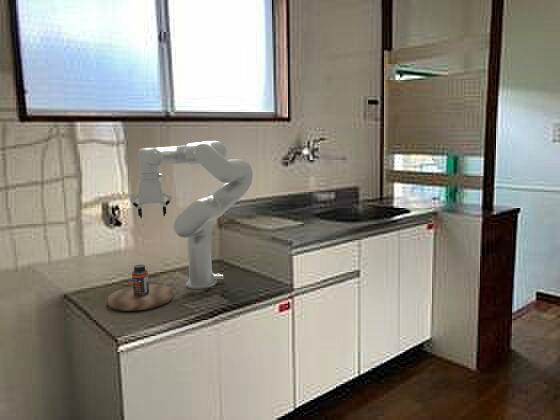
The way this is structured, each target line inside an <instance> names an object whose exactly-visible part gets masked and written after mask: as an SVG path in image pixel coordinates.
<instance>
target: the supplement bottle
mask: <svg viewBox="0 0 560 420" xmlns="http://www.w3.org/2000/svg"><path fill="white" fill-rule="evenodd" d="M148 271H149V270H147V269H146V265H145V264H136V265H134V266H133V271H132V272H131V281H132V286H133V293H134V295H135V296H144V295H147V294H148V293H149V284H150V282H149V273H148Z"/></svg>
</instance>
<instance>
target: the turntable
mask: <svg viewBox="0 0 560 420" xmlns="http://www.w3.org/2000/svg"><path fill="white" fill-rule="evenodd" d="M173 297H174V291H173V288H172V287H170V286H168V285H163V284H158V283H157V284H156V283H154V284H150V283H149V293H148V294H147V295H144V296H135V295H134V293H133V285H132V286H127V287H124V288H122V289H121V288H120V289H118V290H116V291H115V292H112V293H111V294H109V296H108V297H107V305H108V307H109V308H110V309H112V310H117V311H123V312H126V311H127V312H135V311H143V310H149V309H154V308H157V307H161V306H163V305H165V304H167V303H169V302H170V301H171V300H172V299H173Z"/></svg>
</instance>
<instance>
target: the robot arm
mask: <svg viewBox="0 0 560 420" xmlns="http://www.w3.org/2000/svg"><path fill="white" fill-rule="evenodd" d="M227 153H228V151H227V147H226V145H225V143H223V142H221V141H218V140H205V141H204V140H203V141H201V142H199V141H198V142H189V143H187V144H186V145H177V146H176V145H175V146H174V145H173V146H160V147H143V148H140V149H138V163H139V173H140V174H139V176H140V180H139V181H138V194H136V195H134V196H133V197H131V198H130V199H129V200H130V202H131V203H132V205H133V206H134V207H135V208H136V209H137V213H138V217H139V219H142V218H143V212H142V211H143V210H142V206H143V205H150V204H151V205H152V204H161V205H162V215H163V217H166V215H167V206H168V205H169V204H170V202H171V201H172V198H173V197H172V195H171V194H168V193H165V192H164V188H163V184H162V180H161V179H160V178H162V177H163V174H162V173H160V172H159V166H169V165H175V164H176V165H178V164H189V165H196V164H197V165H198V164H200V165H201V166H202V167H203V168H204V169H205V170H206V171H207V172H208V173H210V174H211V175H212V176H213V177H214V178H215V179H216V180H218V181H219V182H221V183H223V184H222V185H221V186H220V187H218V189H217V190H216V191H214V192H213V193H212V194H211V195H208V196H205V197H201V198H198V199H196V200H194V201H193V202H192V203H190V204H189V205H188V206H187V207H186V208H185V209H184V210H183V211H182V212H181V213H179V214H178V215H177V217H175V219H174V223H173V230H174V233H175V234H176V235H177V236H179V237H180V238H183V239H187V262H188V274H189V277H188V278H189V280H188V281H187V282H186V283H185V285H186V287H187V288H189V289H194V290H202V289H209V288H212V287H214V286H215V285H216V284H217V280H223V279H224V278H225V277H224V274H222V273H221V274H220V273H214V272H213V264H212V249H211V244H212V243H211V235H212V234H211V231H212V221H214V220H216V219H218V218H221V216H222V215H224V214H225V212H228V210H229V209H230V208H231V207H232V206H233V205H235V204H236V203H237V202H238V200H240V199H241V198H242V197H244V195H245V194H246V193H247V192H248V190H250V187H251V185H252V182H253V178H254V177H253V175H254V174H253V169H252V166H251V164H250V163H249V162H248V161H247V160H244V159H240V158H234V159H233V158H232V159H226V156H227ZM164 198H167V200H166V201H164ZM137 199H138V202H139V204H138V203H137V202H136V201H135V200H137Z"/></svg>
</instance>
